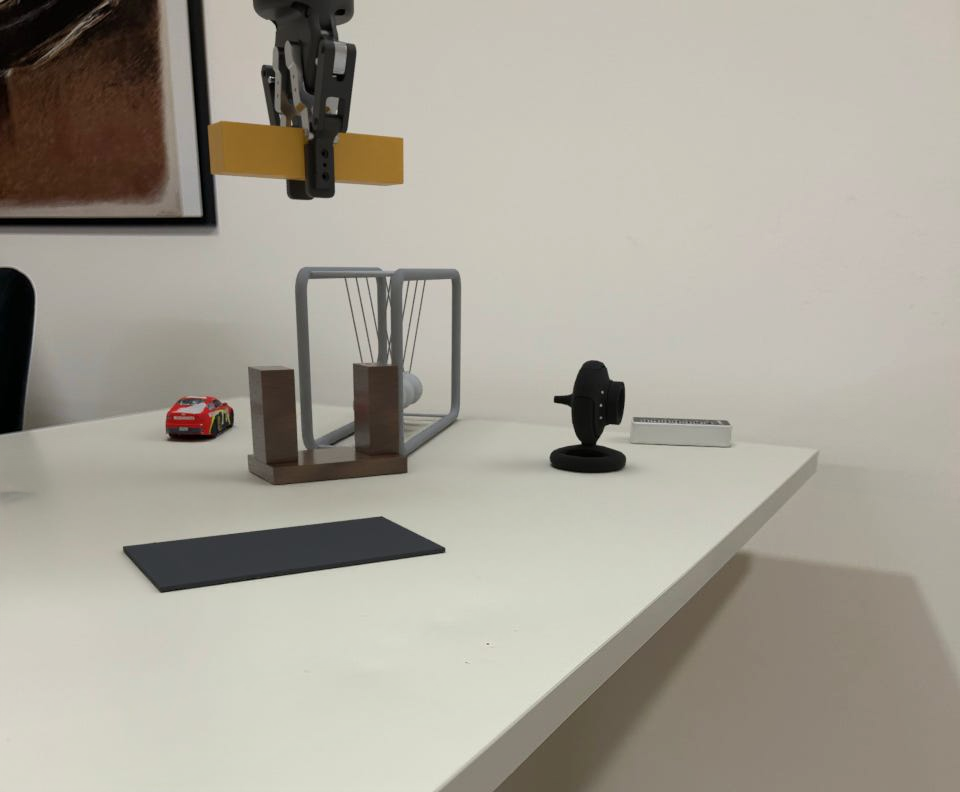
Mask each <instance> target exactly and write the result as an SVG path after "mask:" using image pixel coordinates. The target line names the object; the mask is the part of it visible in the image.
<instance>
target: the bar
mask: <svg viewBox="0 0 960 792" xmlns="http://www.w3.org/2000/svg"><path fill="white" fill-rule="evenodd" d="M207 135H208V136H207V137H208V150H209V162H210V165H209V166H210V174H211V175H214V176H215V175H216V176H229V177H243V178H256V179H257V178H259V179H273V180H274V179H275V180H286V179H287V180H302V181H305V163H304V144H309V142H306V141H305V140H304V136H303V128H294V127H283V126H273V125H270V124H261V123H250V122H242V121H241V122H239V121H229V120H219V121H217V122H214V123H211V124H208V125H207ZM333 146H334V171H335V184H349V185H363V186H364V185H365V186H377V187H379V186H381V187H389V186H398V185H404V179H405V178H404V177H405V176H404V172H405V171H404V137H400V136H399V137H398V136H387V135H386V136H385V135H377V134H367V133H356V132H348V131H347V132H346V133H339V139H338V142H337V144H333Z"/></svg>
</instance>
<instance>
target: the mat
mask: <svg viewBox="0 0 960 792" xmlns="http://www.w3.org/2000/svg"><path fill="white" fill-rule="evenodd" d="M122 551H123V552H124V553H125V554H126V555H127V556H128V558H129V559H130V560H131V561H132V562H133V563H134V564H135V566H137V568H139V570H140V571H141V572H142V573H143V574H144V575H145V576H146V577H147V578H148V579H149V581H150V580H151V581H150V582H151V583H152V584H153V585H154V586H155V587H156V588H157V590H158V591H159V592H160V591H161V592H160V593H163V592H169V591H170V590H171V591H176V590H175V589H178V590H184V588H185V589H192V588H197V587H205V586H212V585H213V586H214V585H219V584H226V583H227V584H228V583H233V582H232V581H234V582H239V581H238V580H242V581H247V580H246V579H249V580H252V579H251V578H256V579H259V578H258V577H263V578H268V577H267V576H270V577H274V576H273V575H277V576H282V574H284V575H291V574H297V572H298V573H305V572H311V571H318V570H327V569H333V568H340V567H347V566H355V565H362V564H368V563H374V562H376V563H377V562H382V561H383V562H384V561H390V560H398V559H404V558H411V557H419V556H424V555H433V554H439V553H446V547H445V546H443V545H441V544H439V543H437V542H435V541H432V540H431V539H429V538H426V537H425V536H422V535H420V534H418V533H417V532H415V531H413V530H410V528H409V529H408V528H407V527H404V526H403V525H401V524H400V523H399V524H398V523H397V522H394V521H392V520H391V519H389V518H386V517H384V516H382V515H380V516H372V517H364V518H354V519H346V520H337V521H330V522H329V521H328V522H321V523H312V524H311V523H310V524H302V525H295V526H293V525H292V526H286V527H285V526H284V527H277V528H269V529H260V530H259V529H258V530H251V531H242V532H233V533H226V534H218V535H209V536H208V535H207V536H200V537H192V538H191V537H190V538H183V539H174V540H173V539H172V540H166V541H158V542H157V541H156V542H149V543H141V544H131V545H124V546H122ZM287 573H288V574H287ZM290 573H291V574H290ZM181 588H182V589H181ZM162 591H163V592H162Z"/></svg>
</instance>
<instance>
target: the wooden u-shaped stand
mask: <svg viewBox="0 0 960 792" xmlns="http://www.w3.org/2000/svg"><path fill="white" fill-rule="evenodd" d="M247 373H248V374H247V375H248V388H249V389H248V391H249V405H250V406H249V407H250V420H251V421H250V423H251V437H252V439H251V440H252V453H251V454H247V468H248V471H249V472H250V473H252V474H254V475H256V476H258V477H259V478H261V479H263V480H265V481H267V482H268V483H270V484H272V485H274V486H275V485H276V486H277V485H286V484H288V485H289V484H297V483H298V484H299V483H309V482H318V481H320V482H321V481H328V480H329V481H331V480H339V479H351V478H360V477H361V478H362V477H373V476H382V475H384V476H385V475H394V474H403V473H408V455H406V456H405V455H402V454H399V400H398V366H397V365H392V364H391V363H388V362H387V363H383V362H377V361H376V362H374V363H372V362H363V363H361V362H353V363H352V384H353V385H352V388H353V401H354V410H353V421H354V427H355V432H354V446H351V447H340V448H327V449H314V450H307V449H303V450H301V449H300V450H299V442H298V422H297V421H298V419H297V400H296V399H297V398H296V379H295V378H296V377H295V369H294V368H291V367H286V366H283V365H261V366H259V365H257V366H248V367H247Z"/></svg>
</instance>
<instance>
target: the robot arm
mask: <svg viewBox="0 0 960 792" xmlns="http://www.w3.org/2000/svg"><path fill="white" fill-rule="evenodd" d="M252 6H253V7H252V8H253V11H254V12H255V13H256V14H257V15H258V17H260V18H261V19H264V20H266V21H270V22H271V23H272V24H273V25H274V26H275V38H274V47H273V48H272V49H273V50H272V65H270V64H262V65H261V70H260V77H261V80H262V81H261V82H262V87H263V93H264V98H265V104H266V110H267V115H268V116H267V117H268V120H269V125H273V126H283V127H294V128H303V136H304V140H305V141H306V142H309V144H304V163H305V181H302V180H287V179H285V182H286V183H285V187H286V188H285V189H286V196H287V197H288V198H289V199H290V200H293V201H294V200H295V201H313V200H314V199H332V198H334V197H335V195H336V183H335V171H334V146H333V144H337V142H338V139H339V133H346V132H347V133H348V130H349V129H348V128H349V122H350V121H349V120H350V114H351V113H350V112H351V105H352V104H351V103H352V96H353V89H354V88H353V86H354V79H355V71H356V62H357V53H358V51H357V47H356V44H354V43H350V42H345V41H341V40H340V39H339V32H338V29H337V26H342V25H344V24H347V23H349V22H350V21H351V20H352V19H353V17H354V14H355V0H252Z"/></svg>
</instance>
